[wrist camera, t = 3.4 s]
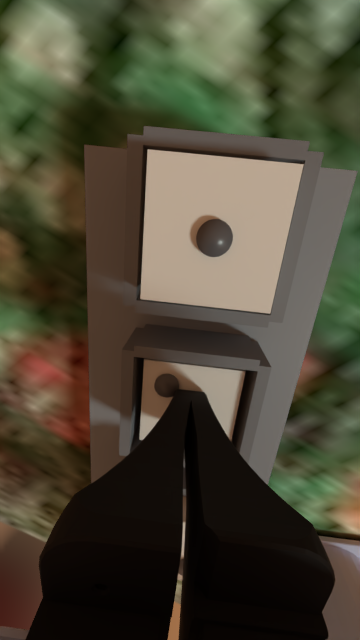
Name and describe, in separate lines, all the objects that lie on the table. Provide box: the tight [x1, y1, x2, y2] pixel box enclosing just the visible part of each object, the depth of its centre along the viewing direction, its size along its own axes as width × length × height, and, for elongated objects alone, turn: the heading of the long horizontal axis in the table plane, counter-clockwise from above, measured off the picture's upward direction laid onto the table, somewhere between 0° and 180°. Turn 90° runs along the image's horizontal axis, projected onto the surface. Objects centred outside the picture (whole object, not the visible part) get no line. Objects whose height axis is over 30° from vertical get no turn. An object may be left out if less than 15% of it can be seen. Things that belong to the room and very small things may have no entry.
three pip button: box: [139, 358, 246, 441], centre depth 13 cm, size 4×4×2 cm
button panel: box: [84, 126, 357, 497], centre depth 14 cm, size 21×11×5 cm, turn 174°
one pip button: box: [140, 149, 304, 314], centre depth 9 cm, size 4×4×2 cm
